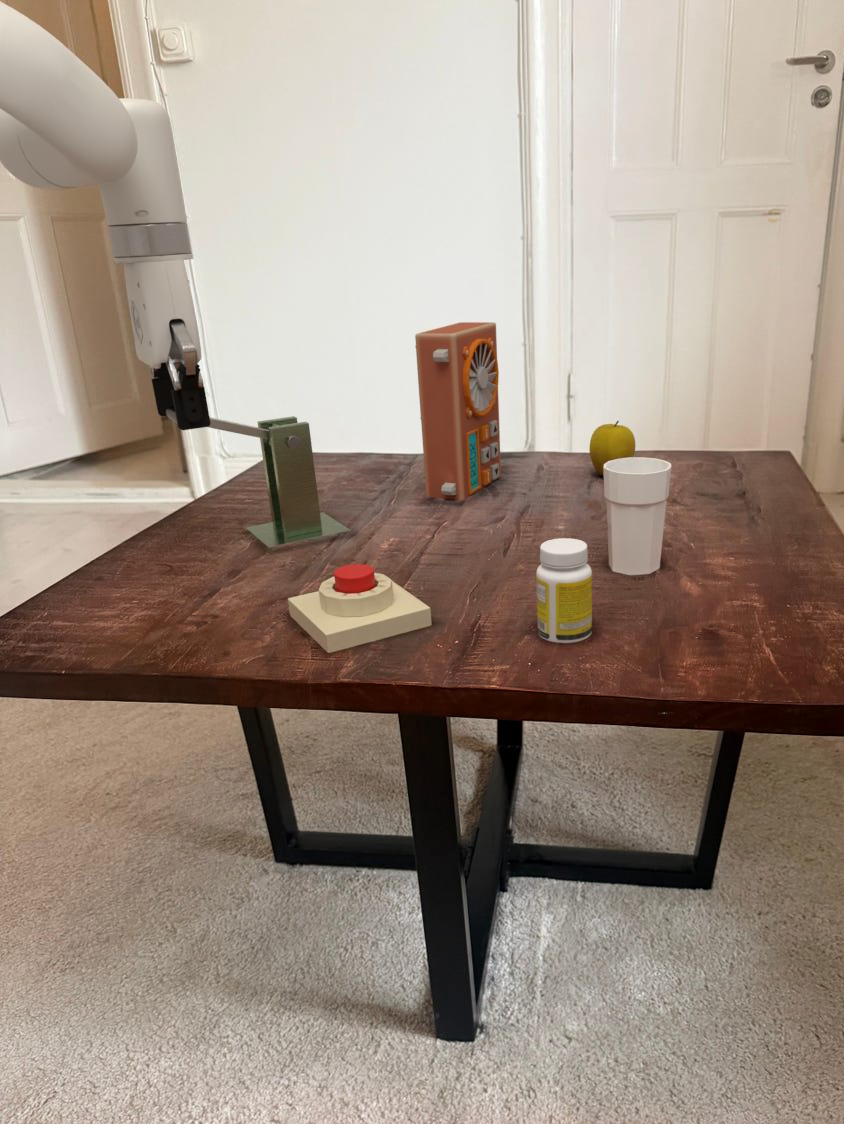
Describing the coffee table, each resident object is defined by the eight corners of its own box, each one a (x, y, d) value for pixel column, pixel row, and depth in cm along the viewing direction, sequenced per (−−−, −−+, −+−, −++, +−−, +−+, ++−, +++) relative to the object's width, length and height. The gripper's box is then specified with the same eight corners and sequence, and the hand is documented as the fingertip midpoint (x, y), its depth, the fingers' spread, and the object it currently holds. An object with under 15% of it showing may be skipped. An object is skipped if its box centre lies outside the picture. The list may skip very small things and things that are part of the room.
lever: (174, 429, 93) (178, 406, 92) (164, 422, 97) (167, 399, 96) (302, 454, 101) (306, 433, 100) (287, 446, 105) (291, 426, 104)
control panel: (510, 481, 126) (463, 512, 113) (465, 478, 128) (415, 507, 116) (505, 321, 117) (454, 335, 104) (457, 321, 119) (402, 335, 107)
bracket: (270, 557, 101) (251, 435, 95) (246, 536, 108) (228, 422, 102) (352, 539, 105) (339, 422, 100) (324, 521, 113) (310, 410, 107)
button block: (329, 658, 77) (323, 615, 75) (290, 619, 85) (284, 580, 83) (432, 629, 81) (429, 589, 79) (386, 595, 89) (382, 558, 87)
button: (345, 599, 79) (342, 581, 78) (330, 587, 82) (327, 569, 81) (382, 590, 81) (380, 572, 80) (366, 578, 84) (364, 561, 83)
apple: (625, 483, 122) (627, 424, 119) (582, 479, 125) (582, 422, 122) (640, 471, 127) (642, 415, 124) (598, 468, 130) (598, 413, 127)
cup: (589, 566, 94) (590, 463, 89) (641, 555, 96) (645, 454, 92) (625, 586, 88) (628, 477, 84) (679, 573, 91) (685, 467, 86)
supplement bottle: (600, 631, 79) (602, 541, 76) (576, 651, 76) (576, 558, 72) (553, 621, 82) (552, 533, 78) (527, 640, 78) (525, 549, 75)
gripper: (97, 247, 93) (132, 413, 101) (128, 247, 80) (166, 440, 87) (170, 243, 97) (198, 405, 104) (212, 243, 83) (241, 429, 90)
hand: (183, 420), depth 96 cm, fingers open, 9 cm apart
